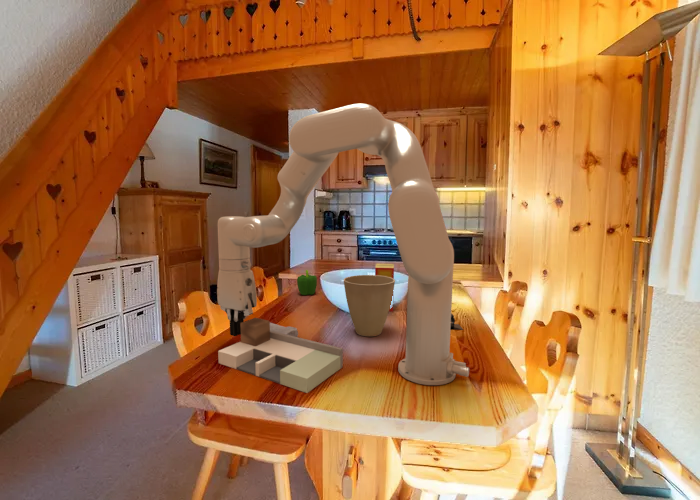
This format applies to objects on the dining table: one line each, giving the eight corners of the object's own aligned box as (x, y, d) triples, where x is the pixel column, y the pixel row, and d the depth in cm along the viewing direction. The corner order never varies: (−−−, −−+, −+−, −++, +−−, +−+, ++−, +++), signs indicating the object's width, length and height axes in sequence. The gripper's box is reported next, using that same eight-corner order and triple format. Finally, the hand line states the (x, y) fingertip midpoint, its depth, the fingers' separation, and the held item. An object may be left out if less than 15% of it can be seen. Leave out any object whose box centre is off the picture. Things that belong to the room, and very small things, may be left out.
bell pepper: (314, 297, 145) (314, 273, 143) (294, 296, 146) (294, 272, 145) (319, 292, 153) (319, 269, 152) (301, 291, 154) (301, 268, 153)
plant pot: (402, 329, 107) (403, 278, 105) (378, 345, 94) (379, 287, 92) (360, 320, 115) (360, 272, 113) (333, 334, 103) (333, 280, 101)
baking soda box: (393, 311, 125) (394, 267, 123) (374, 310, 126) (375, 266, 124) (392, 304, 135) (393, 262, 133) (375, 303, 135) (376, 262, 134)
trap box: (342, 366, 82) (342, 348, 81) (307, 393, 70) (306, 371, 70) (260, 344, 95) (259, 328, 94) (218, 363, 83) (217, 344, 83)
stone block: (269, 336, 106) (245, 340, 97) (271, 320, 106) (248, 323, 97) (301, 345, 101) (280, 350, 92) (304, 328, 101) (282, 332, 92)
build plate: (428, 331, 107) (428, 317, 106) (424, 324, 114) (424, 310, 113) (469, 332, 106) (470, 318, 106) (462, 324, 114) (463, 311, 113)
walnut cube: (270, 339, 90) (269, 320, 89) (255, 346, 86) (255, 326, 85) (255, 336, 92) (255, 317, 92) (241, 342, 88) (240, 322, 88)
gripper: (267, 265, 90) (268, 335, 92) (226, 260, 97) (228, 325, 99) (244, 269, 83) (246, 344, 85) (202, 264, 91) (206, 333, 93)
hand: (237, 334), depth 92 cm, fingers closed
